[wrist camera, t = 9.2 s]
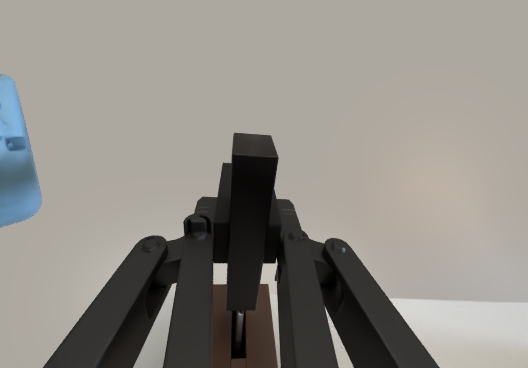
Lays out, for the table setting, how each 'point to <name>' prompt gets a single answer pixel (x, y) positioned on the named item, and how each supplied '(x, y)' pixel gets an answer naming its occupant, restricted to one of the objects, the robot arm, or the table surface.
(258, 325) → the knife block
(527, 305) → the table surface
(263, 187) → the knife
